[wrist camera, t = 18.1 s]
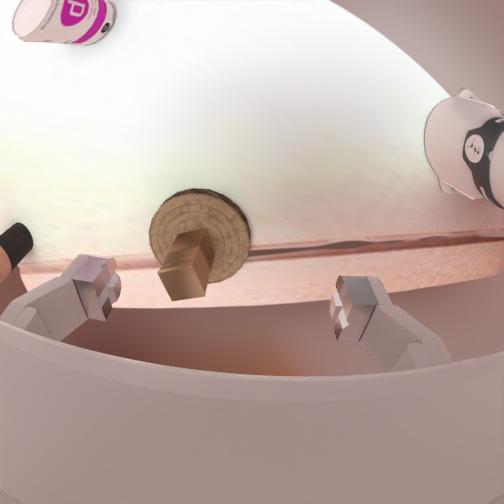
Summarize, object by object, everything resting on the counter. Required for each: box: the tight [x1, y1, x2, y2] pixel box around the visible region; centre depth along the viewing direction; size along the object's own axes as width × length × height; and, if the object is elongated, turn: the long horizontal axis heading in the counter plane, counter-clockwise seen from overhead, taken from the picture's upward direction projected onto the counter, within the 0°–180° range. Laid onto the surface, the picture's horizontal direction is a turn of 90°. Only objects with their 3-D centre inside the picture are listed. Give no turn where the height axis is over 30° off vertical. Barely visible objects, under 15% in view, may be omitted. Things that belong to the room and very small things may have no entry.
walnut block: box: [158, 228, 215, 301], centre depth 38 cm, size 5×5×10 cm
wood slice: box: [149, 189, 250, 284], centre depth 44 cm, size 16×16×3 cm
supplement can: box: [12, 0, 115, 45], centre depth 19 cm, size 8×8×15 cm
